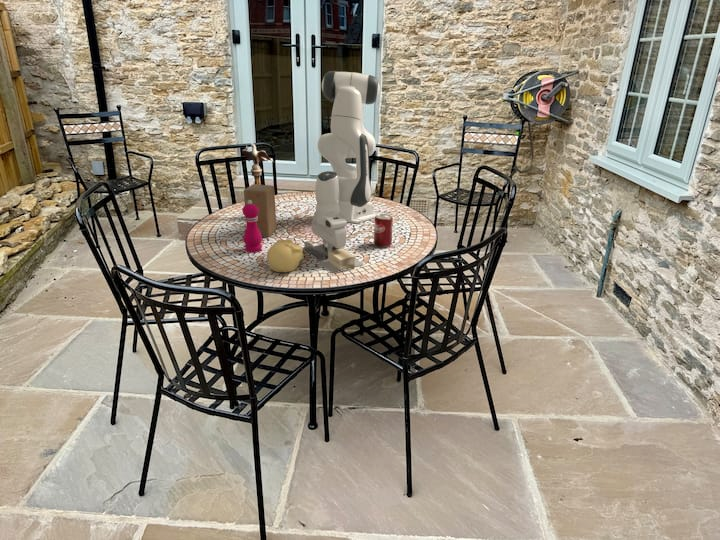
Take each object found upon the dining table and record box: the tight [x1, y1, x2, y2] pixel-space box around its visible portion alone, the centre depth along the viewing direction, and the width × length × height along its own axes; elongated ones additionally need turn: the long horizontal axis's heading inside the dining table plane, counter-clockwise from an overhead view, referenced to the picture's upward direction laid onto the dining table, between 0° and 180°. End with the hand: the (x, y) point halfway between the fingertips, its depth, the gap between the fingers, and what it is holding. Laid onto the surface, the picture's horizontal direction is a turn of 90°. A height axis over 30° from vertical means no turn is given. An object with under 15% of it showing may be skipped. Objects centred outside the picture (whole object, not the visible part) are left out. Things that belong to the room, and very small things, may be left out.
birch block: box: [327, 248, 356, 271], centre depth 174 cm, size 6×9×4 cm, turn 32°
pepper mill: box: [242, 200, 263, 253], centre depth 184 cm, size 7×7×20 cm
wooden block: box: [243, 183, 278, 238], centre depth 201 cm, size 10×10×20 cm
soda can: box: [373, 213, 394, 248], centre depth 193 cm, size 7×7×12 cm
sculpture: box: [266, 239, 304, 273], centre depth 170 cm, size 12×12×11 cm
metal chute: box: [303, 241, 344, 261], centre depth 185 cm, size 10×14×3 cm
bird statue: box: [241, 142, 275, 185], centre depth 220 cm, size 17×13×35 cm
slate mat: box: [316, 258, 364, 274], centre depth 176 cm, size 14×10×1 cm
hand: (328, 251), depth 183 cm, fingers closed
